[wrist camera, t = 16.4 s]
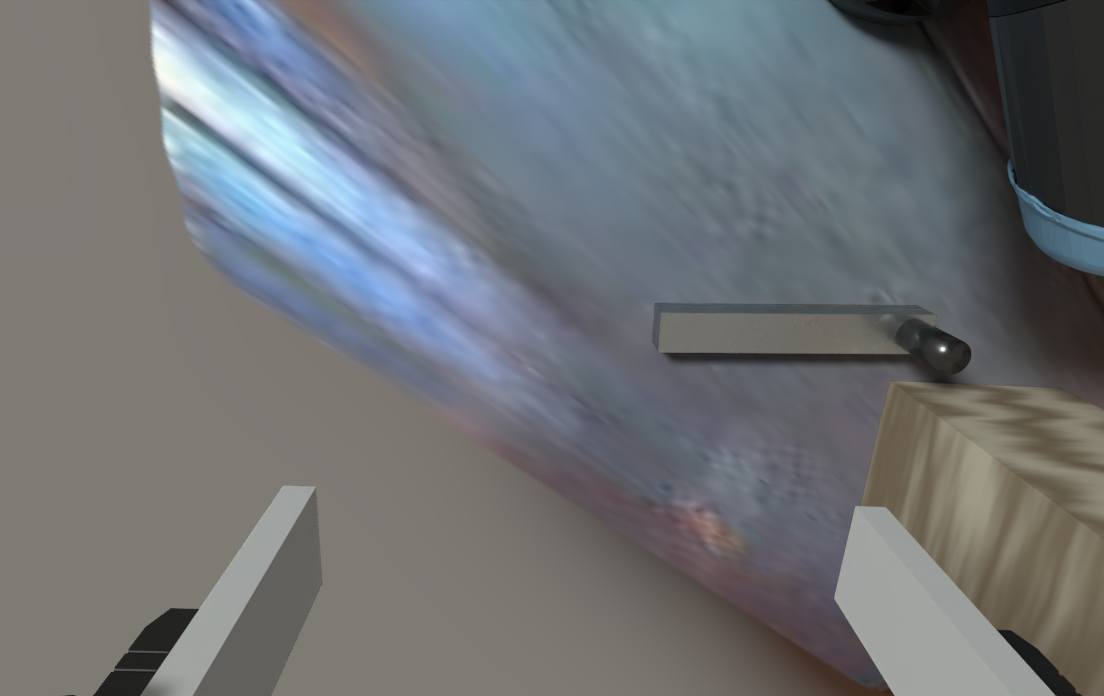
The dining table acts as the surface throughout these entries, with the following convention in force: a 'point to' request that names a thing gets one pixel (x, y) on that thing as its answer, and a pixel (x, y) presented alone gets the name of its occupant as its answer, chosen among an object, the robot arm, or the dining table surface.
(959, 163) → the dining table surface
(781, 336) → the crank handle
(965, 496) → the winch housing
